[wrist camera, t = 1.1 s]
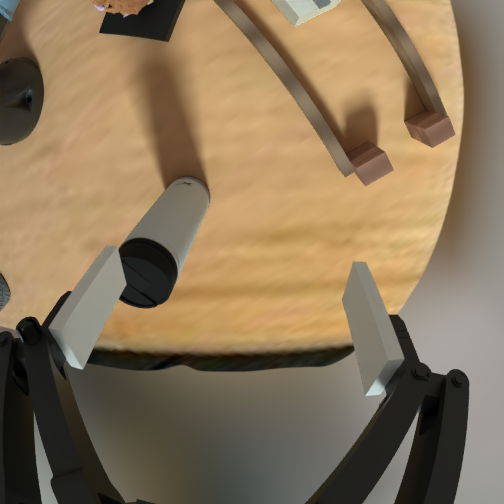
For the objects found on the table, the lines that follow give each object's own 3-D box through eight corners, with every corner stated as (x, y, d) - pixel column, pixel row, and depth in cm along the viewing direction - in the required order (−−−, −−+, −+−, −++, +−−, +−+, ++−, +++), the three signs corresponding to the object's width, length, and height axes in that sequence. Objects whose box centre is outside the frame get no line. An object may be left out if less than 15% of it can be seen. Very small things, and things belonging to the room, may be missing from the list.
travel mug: (185, 165, 38) (121, 240, 21) (219, 198, 40) (184, 294, 23) (157, 194, 40) (88, 280, 23) (189, 225, 42) (143, 325, 26)
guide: (213, 0, 25) (203, -13, 20) (325, -54, 19) (333, -73, 14) (343, 176, 37) (355, 192, 32) (440, 121, 31) (463, 130, 26)
